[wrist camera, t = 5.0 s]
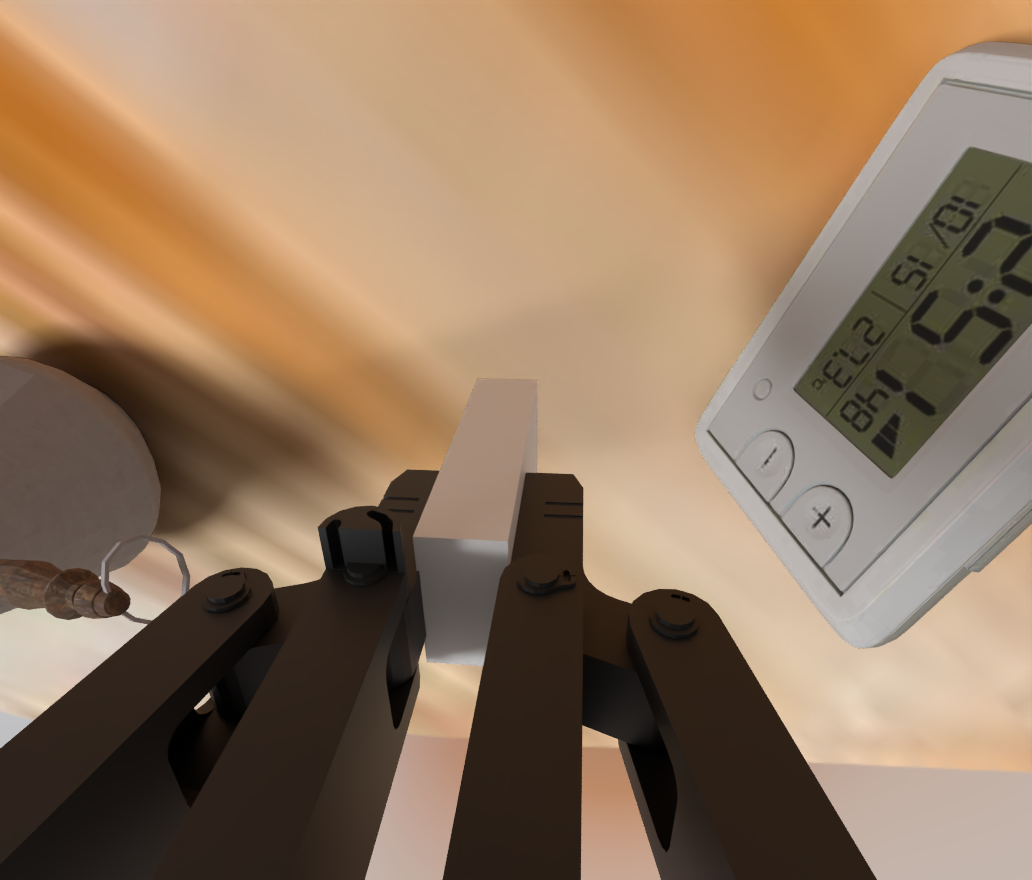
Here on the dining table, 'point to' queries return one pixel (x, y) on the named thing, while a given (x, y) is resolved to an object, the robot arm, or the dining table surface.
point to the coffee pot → (70, 494)
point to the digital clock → (899, 364)
